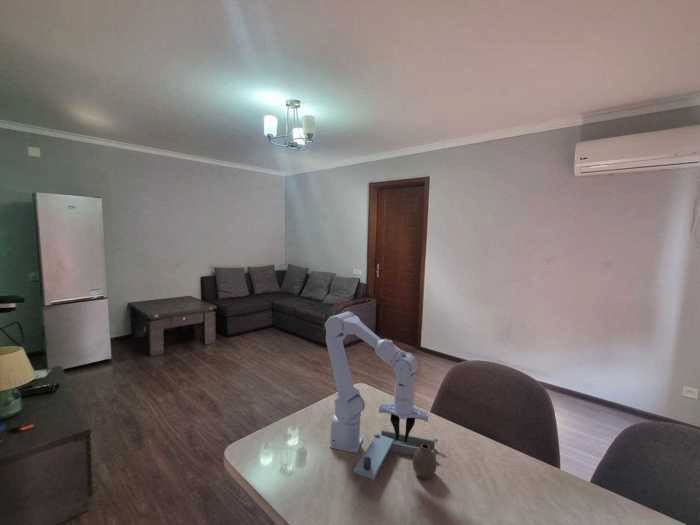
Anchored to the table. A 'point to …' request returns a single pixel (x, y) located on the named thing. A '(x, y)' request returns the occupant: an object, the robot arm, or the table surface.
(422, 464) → the vase
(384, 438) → the cover
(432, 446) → the grey u-channel
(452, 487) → the table surface
